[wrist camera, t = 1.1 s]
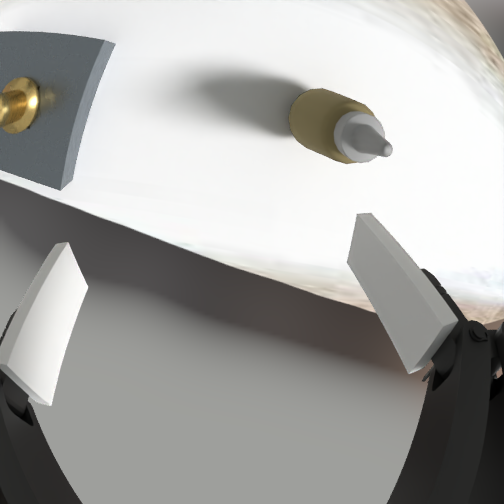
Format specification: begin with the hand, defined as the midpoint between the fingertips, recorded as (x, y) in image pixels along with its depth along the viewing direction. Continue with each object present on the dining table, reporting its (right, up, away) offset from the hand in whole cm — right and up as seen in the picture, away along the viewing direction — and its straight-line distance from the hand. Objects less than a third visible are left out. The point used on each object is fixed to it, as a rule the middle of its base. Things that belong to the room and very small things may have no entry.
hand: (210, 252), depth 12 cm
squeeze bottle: (+9, +18, +21) cm, 29 cm away
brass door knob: (-28, +21, +12) cm, 37 cm away
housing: (-28, +21, +13) cm, 37 cm away
